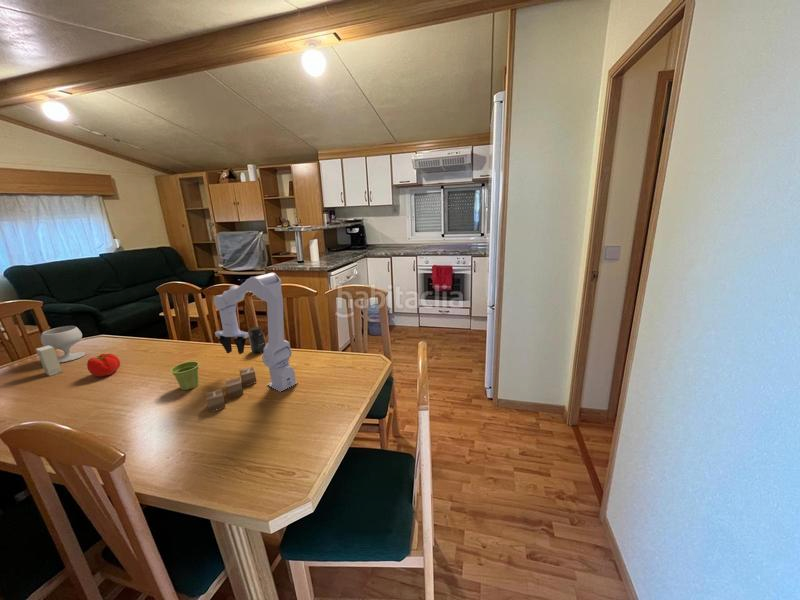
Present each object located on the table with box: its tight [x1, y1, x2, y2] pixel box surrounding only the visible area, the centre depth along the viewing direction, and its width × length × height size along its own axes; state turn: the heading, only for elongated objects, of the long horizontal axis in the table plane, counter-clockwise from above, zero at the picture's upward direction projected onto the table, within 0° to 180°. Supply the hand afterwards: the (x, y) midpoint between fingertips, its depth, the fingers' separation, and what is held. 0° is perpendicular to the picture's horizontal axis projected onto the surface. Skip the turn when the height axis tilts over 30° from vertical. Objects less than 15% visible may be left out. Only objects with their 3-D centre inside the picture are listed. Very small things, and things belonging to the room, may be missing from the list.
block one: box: [205, 388, 226, 412], centre depth 113 cm, size 5×5×5 cm
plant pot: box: [170, 360, 200, 391], centre depth 126 cm, size 9×9×9 cm
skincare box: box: [35, 345, 63, 376], centre depth 142 cm, size 6×4×12 cm
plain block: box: [224, 376, 244, 399], centre depth 121 cm, size 5×5×5 cm
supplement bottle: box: [248, 326, 267, 355], centre depth 157 cm, size 7×7×12 cm
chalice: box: [40, 325, 86, 364], centre depth 157 cm, size 14×14×15 cm
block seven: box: [239, 366, 257, 387], centre depth 129 cm, size 5×5×5 cm
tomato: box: [86, 353, 121, 377], centre depth 140 cm, size 11×11×9 cm
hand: (235, 352), depth 134 cm, fingers open, 5 cm apart
